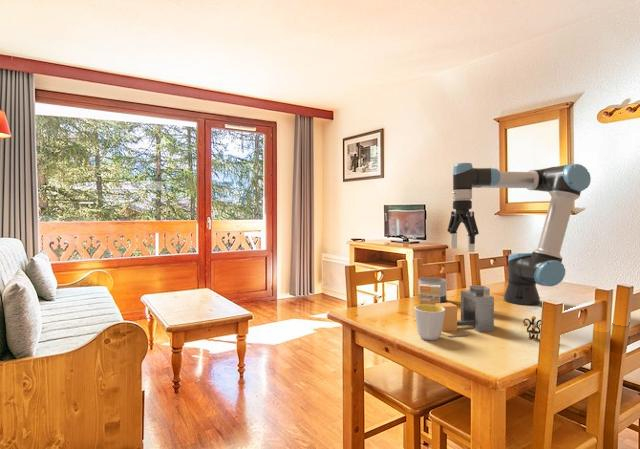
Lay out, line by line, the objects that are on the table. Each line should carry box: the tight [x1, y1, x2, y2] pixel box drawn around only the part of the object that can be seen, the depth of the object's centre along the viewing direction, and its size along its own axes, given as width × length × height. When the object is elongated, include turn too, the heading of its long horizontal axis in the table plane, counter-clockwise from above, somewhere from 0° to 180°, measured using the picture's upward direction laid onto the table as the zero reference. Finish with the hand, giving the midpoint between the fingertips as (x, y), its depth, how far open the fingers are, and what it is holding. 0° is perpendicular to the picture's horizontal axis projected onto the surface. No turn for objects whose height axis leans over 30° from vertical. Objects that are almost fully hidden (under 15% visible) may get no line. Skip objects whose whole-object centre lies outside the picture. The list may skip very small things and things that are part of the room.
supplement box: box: [418, 284, 441, 305], centre depth 157 cm, size 8×5×13 cm, turn 70°
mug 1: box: [413, 304, 445, 341], centre depth 133 cm, size 14×10×10 cm
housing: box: [460, 287, 495, 333], centre depth 143 cm, size 6×12×14 cm, turn 10°
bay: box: [447, 334, 468, 338], centre depth 141 cm, size 7×18×1 cm, turn 10°
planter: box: [417, 276, 447, 303], centre depth 183 cm, size 13×13×10 cm
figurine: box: [522, 315, 542, 342], centre depth 129 cm, size 5×5×8 cm
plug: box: [435, 302, 475, 332], centre depth 142 cm, size 21×5×9 cm, turn 100°
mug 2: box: [467, 284, 491, 296], centre depth 163 cm, size 12×8×11 cm
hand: (461, 250), depth 162 cm, fingers open, 13 cm apart
